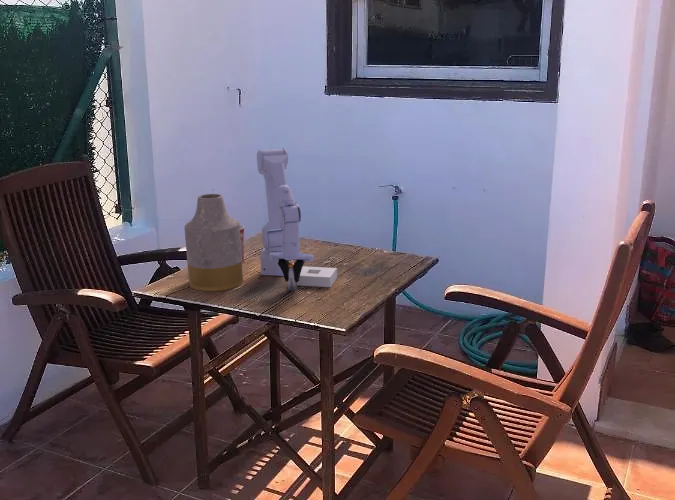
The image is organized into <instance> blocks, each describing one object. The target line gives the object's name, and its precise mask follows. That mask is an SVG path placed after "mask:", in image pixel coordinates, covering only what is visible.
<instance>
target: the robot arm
mask: <svg viewBox="0 0 675 500" xmlns="http://www.w3.org/2000/svg"><path fill="white" fill-rule="evenodd" d="M256 164H257V171H258V173H259V174H260V175H262V176H263V179H264V186H265V194H266V195H265V196H266V204H267V205H266V206H267V217H268V222H266V224H264V225H263V227H262V229H261V242H262V247H263V248H261V251H260V256H259V257H260V276H261V275H262V276H273V277H274V276H278V277H283V278H284V282H285V283H286V282H287V283H288V274H287V263H289V262H290V261H295V263H294V267H295V280H296V282H298V281H299V279H300V273H301V270H302V267H303V266H305V262H309V263H310V262H311V263H313V261H314V254H311V253H310V254H309V253H304V252H301V248H300V246H301V245H300V222H301V219H302V215H301V214H302V213H301V208H300V205H299V204H298V202H297V201H296V200H295V196H294V193H293V189H292V187H290V186H288V182H287V177H286V171H285V170H286V169H287V167H288V164H289V153H288V151H287V149H286V148H285V147H282V148H273V149H272V148H271V149H259V150H258V151H257V152H256Z"/></svg>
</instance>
